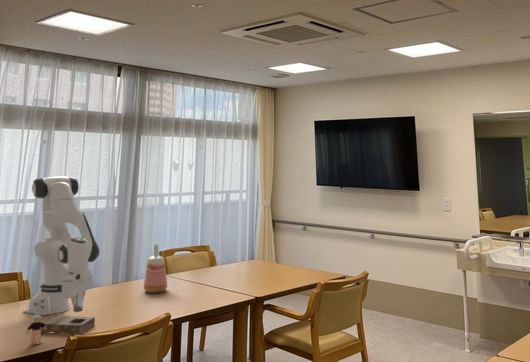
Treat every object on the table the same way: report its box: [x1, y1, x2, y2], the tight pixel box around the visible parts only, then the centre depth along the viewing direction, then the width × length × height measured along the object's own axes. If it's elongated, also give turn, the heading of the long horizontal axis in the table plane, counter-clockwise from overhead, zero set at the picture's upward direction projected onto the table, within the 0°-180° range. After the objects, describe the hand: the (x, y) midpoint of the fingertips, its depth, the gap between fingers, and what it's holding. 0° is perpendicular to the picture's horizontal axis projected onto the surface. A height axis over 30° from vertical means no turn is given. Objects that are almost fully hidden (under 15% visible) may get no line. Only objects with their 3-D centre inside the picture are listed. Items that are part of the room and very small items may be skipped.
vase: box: [143, 243, 168, 294], centre depth 264 cm, size 14×14×30 cm
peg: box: [72, 289, 84, 313], centre depth 194 cm, size 4×4×10 cm
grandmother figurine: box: [25, 314, 47, 346], centre depth 177 cm, size 8×4×13 cm, turn 138°
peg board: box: [40, 314, 96, 335], centre depth 195 cm, size 20×12×4 cm, turn 84°
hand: (78, 302), depth 194 cm, fingers closed on peg, 4 cm apart
